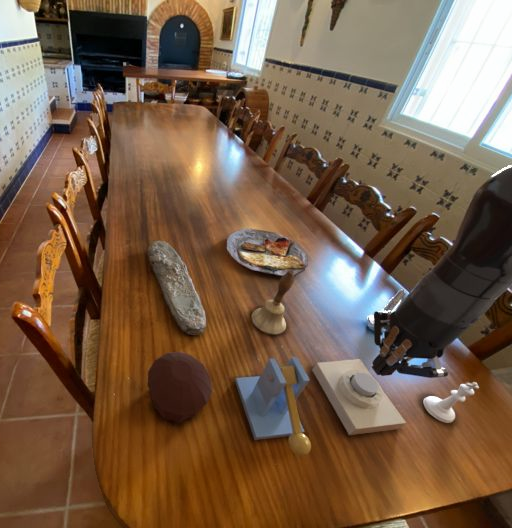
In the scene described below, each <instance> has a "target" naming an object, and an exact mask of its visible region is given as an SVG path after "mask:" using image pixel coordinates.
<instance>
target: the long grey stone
mask: <svg viewBox="0 0 512 528" xmlns="http://www.w3.org/2000/svg"><path fill="white" fill-rule="evenodd" d="M147 256H148V260H149V263H150V266H151V268H152V271H153V273H154V274H155V276H156V279H157V281H158V283H159V286H160V289H161V292H162V294H163V299H164V301H165V303H166V304H167V306H168V308H169V310H170V312H171V315H172V318H174V321H175V322H176V324H177V326H178V327H179V328H180V329H181V331H182V332H185V334H187V335H191V336H199V335H202V334H203V333H204V332H205V330H206V328H207V318H206V310H205V309H204V307H203V304H202V302H201V298H200V295H199V294H198V292H197V291H196V289H195V285H194V283H193V280H192V278H191V276H190V274H189V271H188V267H187V265H186V263H185V262H184V261H183V260H182V257H181V256H180V255H179V254H178V253H177V251H176V250H175V249H174V247H172V246H171V245H170V244H169V243H168V242H166V241H164V240H155V241H153V242H151V244H150V245H148V248H147Z"/></svg>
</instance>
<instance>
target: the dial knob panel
mask: <svg viewBox="0 0 512 528" xmlns="http://www.w3.org/2000/svg"><path fill="white" fill-rule="evenodd" d="M311 372H312V373H313V375H314V376H315V378H316V380H317V381H318V383H319V386H320V387H321V388H322V391H323V392H324V394H325V396H326V397H327V399H328V401H329V403H330V404H331V406H332V408H333V410H334V411H335V413H336V415H337V417H338V419H339V420H340V422H341V423H342V425H343V427H344V429H345V430H346V433H347V435H348V436H354V435H361V434H369V433H370V434H371V433H377V432H386V431H394V430H399V429H400V428H402V427H403V426H405V424H407V422H406V421H405V419H404V418H403V417H402V415H401V414H400V412H399V411H398V410H397V408H396V407H395V405H394V404H393V403H392V401H391V399H389V397H388V396H387V395H386V393H385V392H384V390H383V387H381V384H380V383H379V382H378V381H377V379H375V381H376V382H377V384H378V391H377V392H376V393H375V394H373V395H372V396H371V397H365V396H362V395H360V394H358V393H357V392H356V391H355V390H354V389H353V388H352V386H351V379H352V378H353V376H354V375H355V374H356V373H359V372H363V373H366V374H368V375H370V376H371V377H373V375H372V373H371V372H370V371H369V369H368V368H367V367H366V365H365V364H364V363H363V361H362V360H361V358H356V359H345V360H333V361H322V362H321V361H320V362H316V363H315V365H314V366H313V367H312V369H311Z"/></svg>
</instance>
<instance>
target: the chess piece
mask: <svg viewBox="0 0 512 528" xmlns="http://www.w3.org/2000/svg"><path fill="white" fill-rule="evenodd" d="M474 389H475V390H479V389H480V386H479V385H478V383H477V382H476V381H473V382H471V383H470V382H465V383H461V384H459V387H458V389H452V390H450V394H451V395H450V396H448V397H446V398H444V399H442V398H440V397H438V396H435V395H429V396H426V397H424V399H423V406H424V408H425V410H426V411H427V413H428V414H429V415H431V416H432V417H433V418H435V419H436V420H437V421H440V422H442V423H446V424H449V423H453V422H454V420H455V419H456V413H455V410H454V408H453V406H454V405H455V404H456V403H457V402H462V403H463V402H465V401H466V397H468V396H474V394H475V390H474Z"/></svg>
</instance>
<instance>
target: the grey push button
mask: <svg viewBox="0 0 512 528" xmlns="http://www.w3.org/2000/svg"><path fill="white" fill-rule="evenodd" d="M375 380H376V378H375V377H374V376H372V377H371V376H370V375H368V374H366V373H363V372H359V373H356V374H355V375H354V376H353V378H352V379H351V386H352V388H353V389H354V390H355V391H356V392H357V393H358V394H360V395H362V396H365V397H371V396H372V395H373V394H375V393H376V392H377V391H378V384H379V383H378V384H377V382H378V381H377V380H376V381H377V382H376V381H375Z"/></svg>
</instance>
